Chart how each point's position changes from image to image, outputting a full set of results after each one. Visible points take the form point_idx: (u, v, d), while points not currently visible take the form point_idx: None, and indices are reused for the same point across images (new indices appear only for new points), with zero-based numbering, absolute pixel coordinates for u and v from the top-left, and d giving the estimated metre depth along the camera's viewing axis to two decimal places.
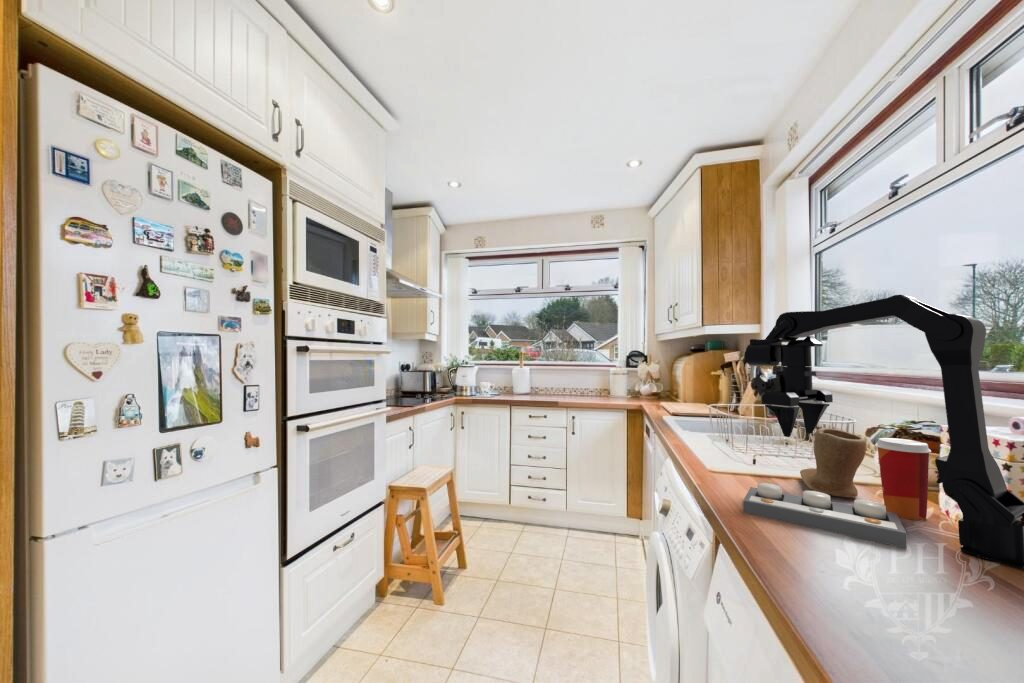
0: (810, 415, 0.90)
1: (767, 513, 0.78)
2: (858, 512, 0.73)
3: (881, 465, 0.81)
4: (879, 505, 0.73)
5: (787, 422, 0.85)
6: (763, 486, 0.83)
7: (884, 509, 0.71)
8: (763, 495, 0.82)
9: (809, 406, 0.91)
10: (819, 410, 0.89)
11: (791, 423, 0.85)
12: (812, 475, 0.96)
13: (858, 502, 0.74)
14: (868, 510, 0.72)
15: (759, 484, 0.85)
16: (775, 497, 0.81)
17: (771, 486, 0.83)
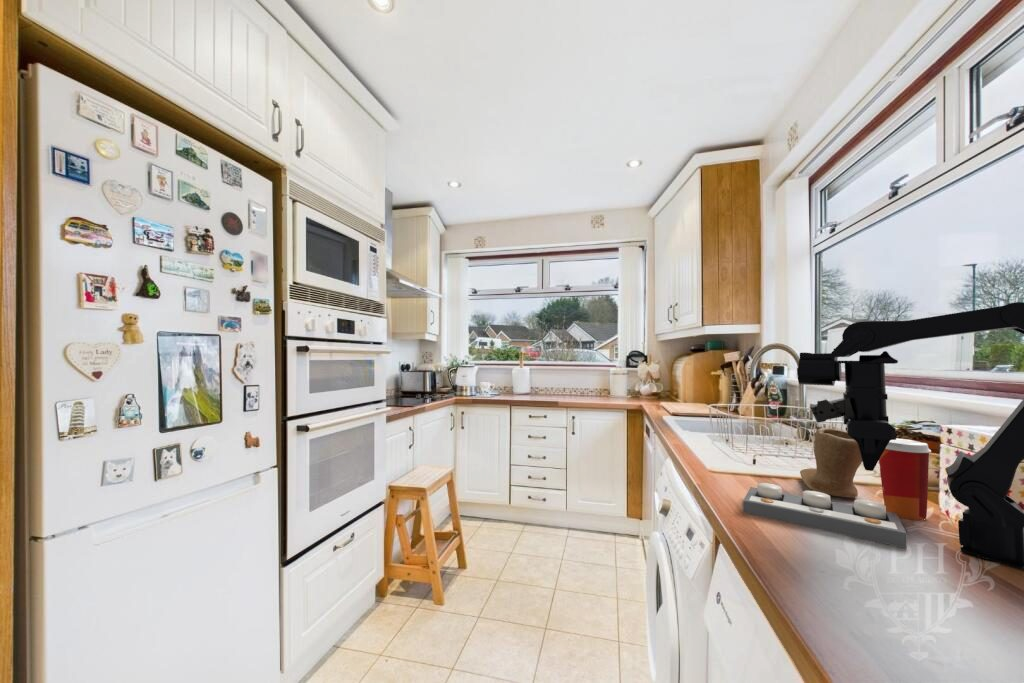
0: None
1: (767, 513, 0.78)
2: (858, 512, 0.73)
3: (881, 465, 0.81)
4: (879, 505, 0.73)
5: (874, 454, 0.72)
6: (763, 486, 0.83)
7: (884, 509, 0.71)
8: (763, 495, 0.82)
9: None
10: None
11: (879, 455, 0.71)
12: (812, 475, 0.96)
13: (858, 502, 0.74)
14: (868, 510, 0.72)
15: (759, 484, 0.85)
16: (775, 497, 0.81)
17: (771, 486, 0.83)
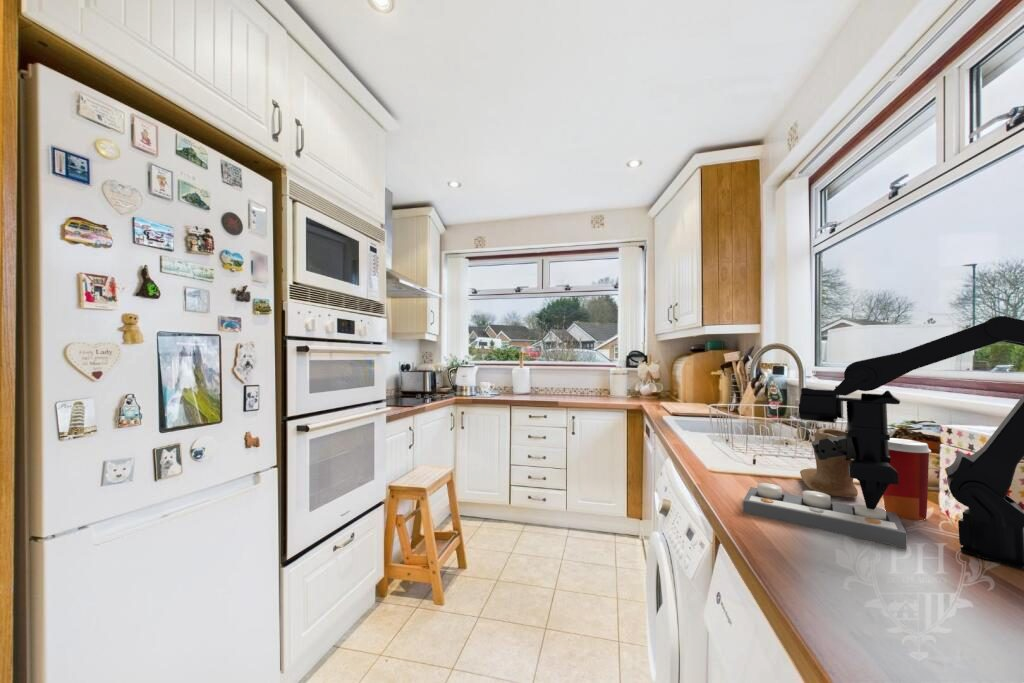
0: None
1: (767, 513, 0.78)
2: None
3: None
4: (879, 510, 0.73)
5: (876, 493, 0.72)
6: (763, 486, 0.83)
7: (884, 514, 0.71)
8: (763, 495, 0.82)
9: None
10: None
11: (880, 494, 0.72)
12: (812, 475, 0.96)
13: (858, 507, 0.74)
14: (869, 515, 0.72)
15: (759, 484, 0.85)
16: (775, 497, 0.81)
17: (771, 486, 0.83)
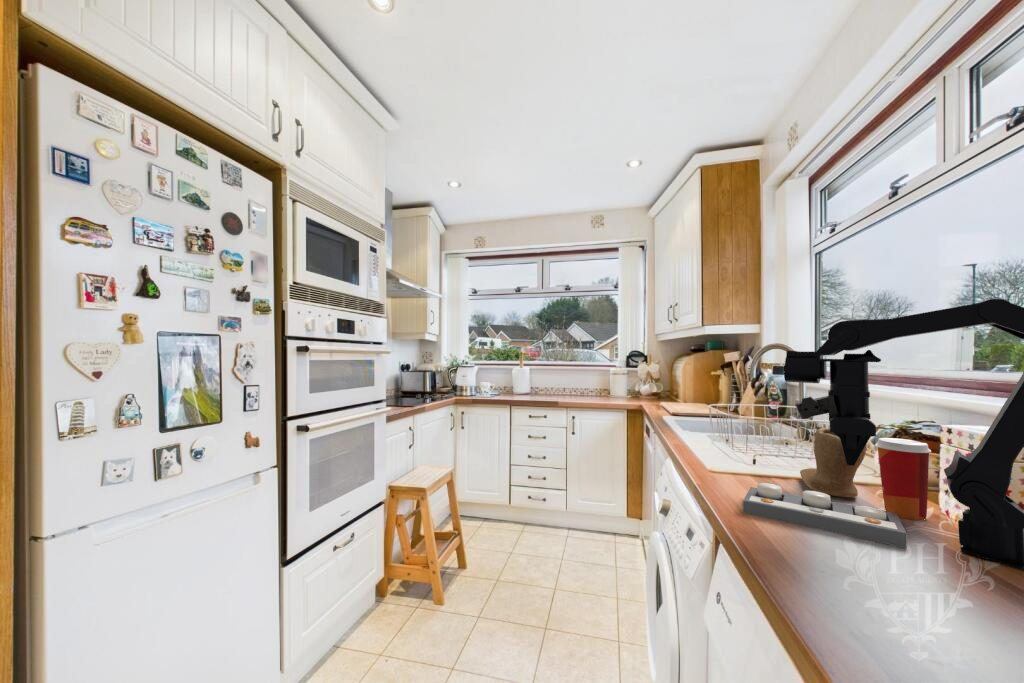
0: None
1: (767, 513, 0.78)
2: None
3: (881, 465, 0.81)
4: (879, 512, 0.73)
5: (855, 449, 0.74)
6: (763, 486, 0.83)
7: (884, 516, 0.71)
8: (763, 495, 0.82)
9: None
10: None
11: (860, 450, 0.74)
12: (812, 475, 0.96)
13: (858, 509, 0.74)
14: (869, 517, 0.72)
15: (759, 484, 0.85)
16: (775, 497, 0.81)
17: (771, 486, 0.83)
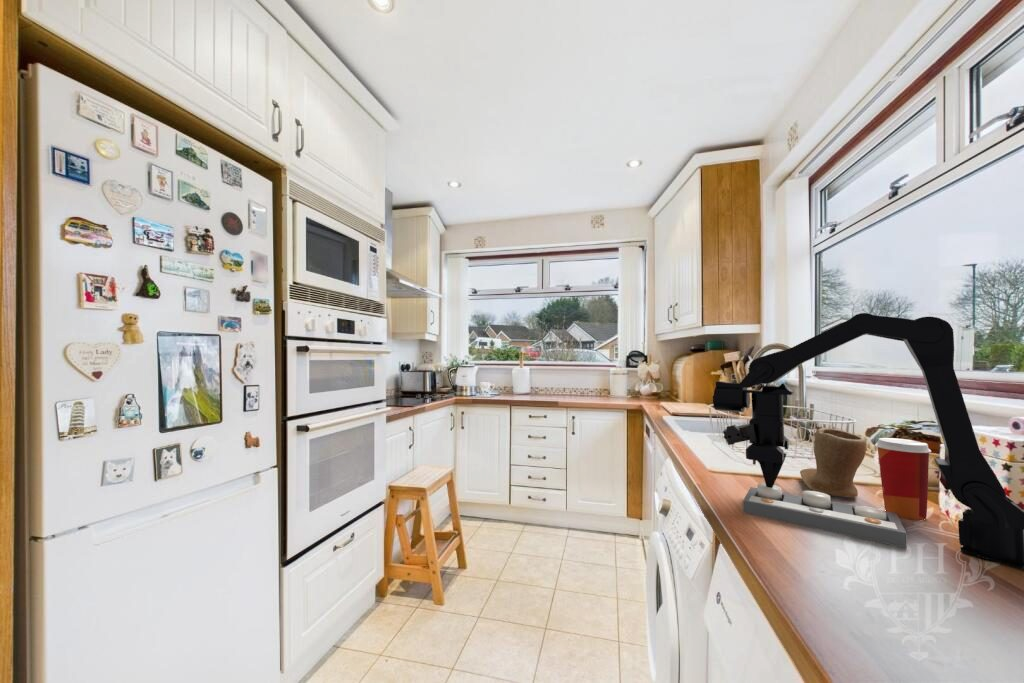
0: None
1: (767, 513, 0.78)
2: None
3: (881, 465, 0.81)
4: (879, 512, 0.73)
5: (772, 473, 0.82)
6: (763, 487, 0.83)
7: (884, 516, 0.71)
8: (763, 496, 0.82)
9: None
10: None
11: (776, 474, 0.82)
12: (812, 475, 0.96)
13: (858, 509, 0.74)
14: (869, 517, 0.72)
15: (759, 485, 0.85)
16: (775, 498, 0.81)
17: None
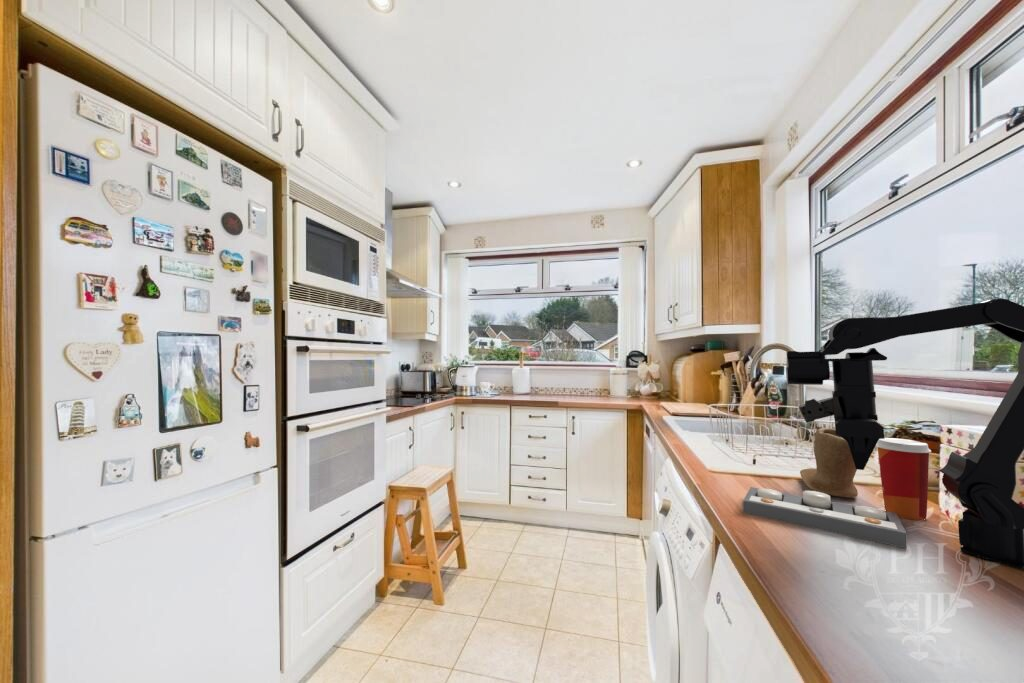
0: None
1: (767, 513, 0.78)
2: None
3: (881, 465, 0.81)
4: (879, 512, 0.73)
5: (864, 452, 0.71)
6: (763, 492, 0.83)
7: (884, 516, 0.71)
8: None
9: None
10: None
11: (869, 453, 0.70)
12: (812, 475, 0.96)
13: (858, 509, 0.74)
14: (869, 517, 0.72)
15: (759, 490, 0.85)
16: None
17: (771, 492, 0.83)
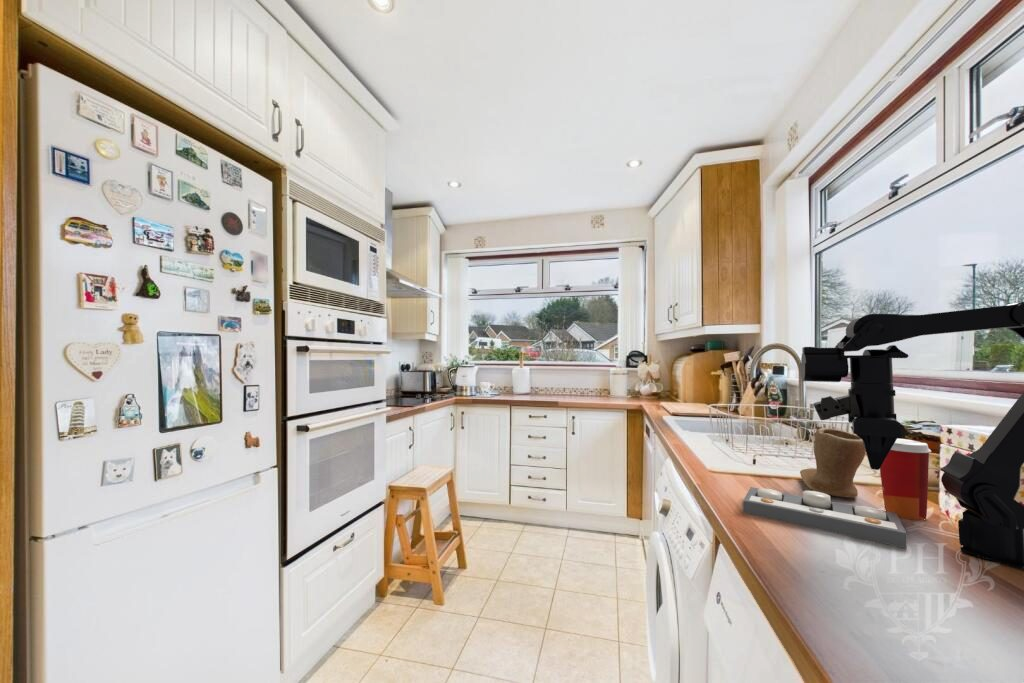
0: None
1: (767, 513, 0.78)
2: None
3: None
4: (879, 512, 0.73)
5: (880, 452, 0.69)
6: (763, 492, 0.83)
7: (884, 516, 0.71)
8: None
9: None
10: None
11: (886, 453, 0.68)
12: (812, 475, 0.96)
13: (858, 509, 0.74)
14: (869, 517, 0.72)
15: (759, 490, 0.85)
16: None
17: (771, 492, 0.83)
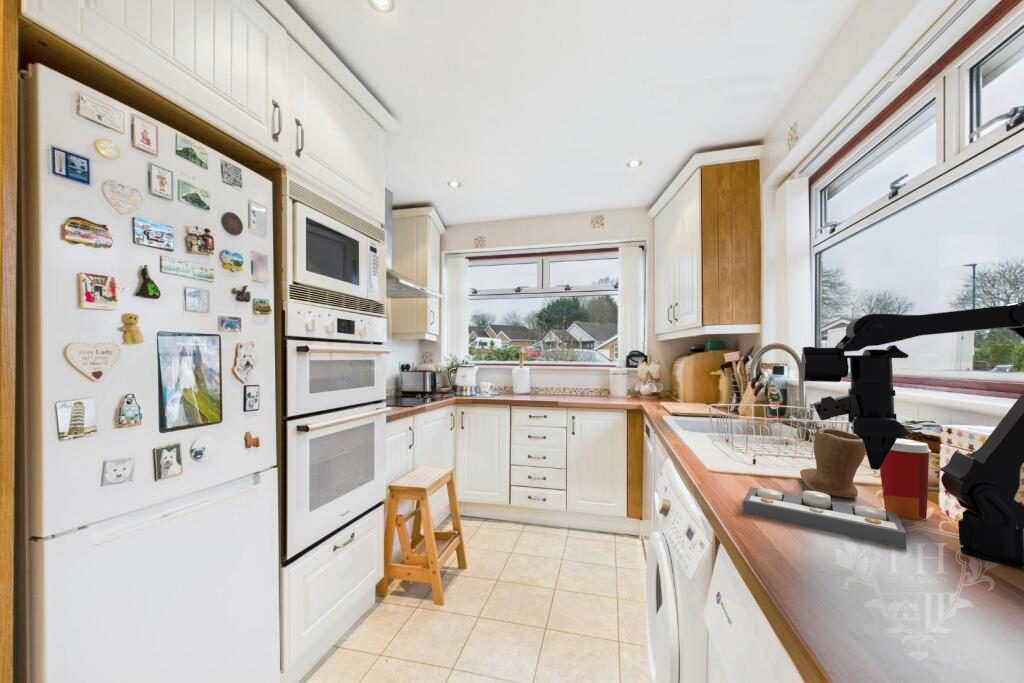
0: None
1: (767, 513, 0.78)
2: None
3: None
4: (879, 512, 0.73)
5: (880, 452, 0.69)
6: (763, 492, 0.83)
7: (884, 516, 0.71)
8: None
9: None
10: None
11: (886, 453, 0.68)
12: (812, 475, 0.96)
13: (858, 509, 0.74)
14: (869, 517, 0.72)
15: (759, 490, 0.85)
16: None
17: (771, 492, 0.83)
